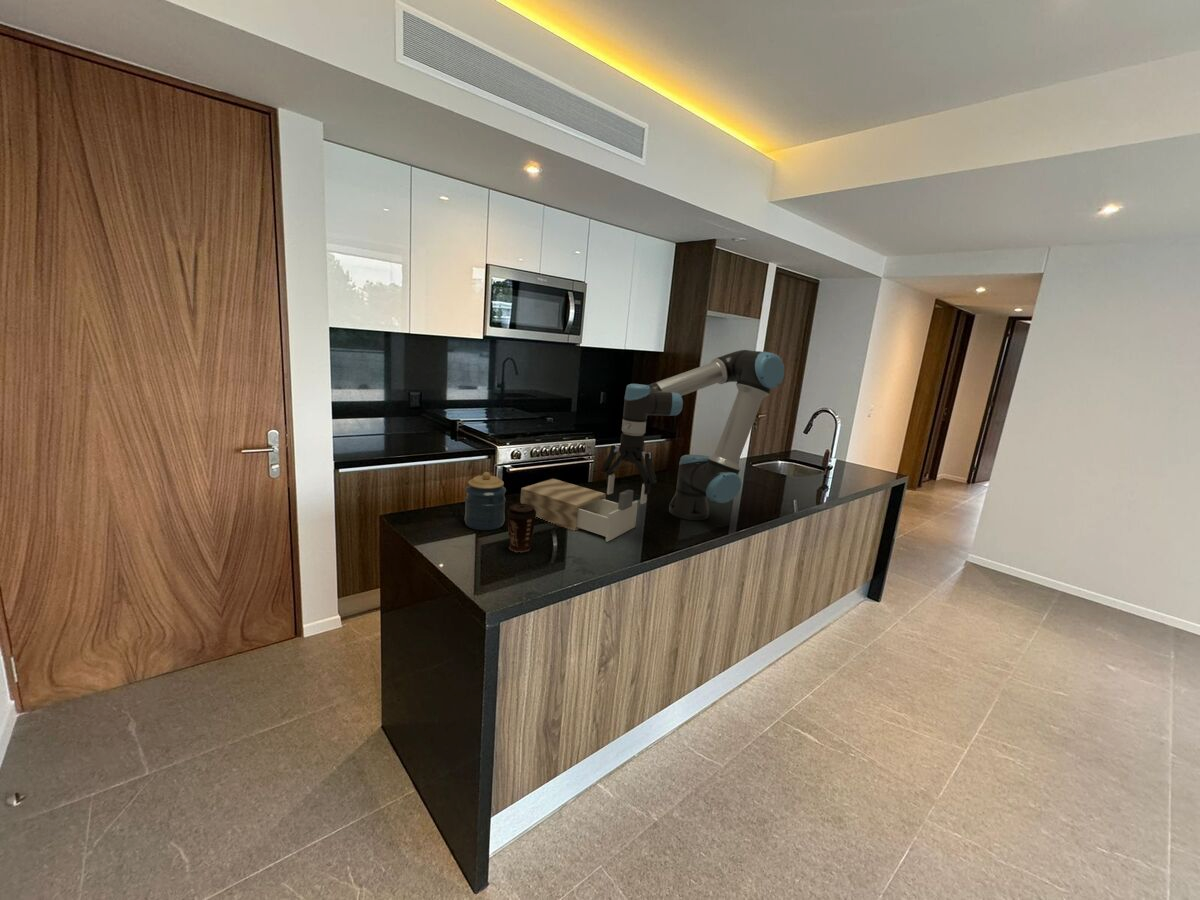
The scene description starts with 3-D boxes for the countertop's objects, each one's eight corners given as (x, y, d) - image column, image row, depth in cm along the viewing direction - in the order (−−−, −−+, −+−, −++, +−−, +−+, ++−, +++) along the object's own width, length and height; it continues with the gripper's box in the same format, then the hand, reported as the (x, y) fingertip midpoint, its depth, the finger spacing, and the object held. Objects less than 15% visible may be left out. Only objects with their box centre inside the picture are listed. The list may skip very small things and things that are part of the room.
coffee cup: (515, 539, 155) (517, 499, 152) (539, 545, 152) (542, 505, 149) (500, 549, 147) (502, 508, 144) (524, 556, 144) (527, 514, 141)
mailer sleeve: (603, 517, 180) (605, 493, 178) (574, 531, 165) (576, 505, 163) (551, 500, 193) (552, 478, 191) (519, 512, 178) (521, 488, 176)
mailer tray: (637, 527, 173) (642, 486, 170) (610, 542, 158) (614, 498, 155) (579, 509, 186) (582, 471, 182) (549, 521, 171) (552, 480, 168)
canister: (457, 527, 160) (458, 474, 156) (474, 514, 172) (476, 464, 168) (495, 533, 158) (498, 480, 154) (510, 519, 170) (512, 469, 166)
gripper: (594, 427, 161) (589, 491, 166) (662, 442, 149) (653, 510, 154) (607, 425, 168) (601, 487, 172) (672, 438, 155) (664, 504, 160)
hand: (626, 498), depth 163 cm, fingers open, 12 cm apart
